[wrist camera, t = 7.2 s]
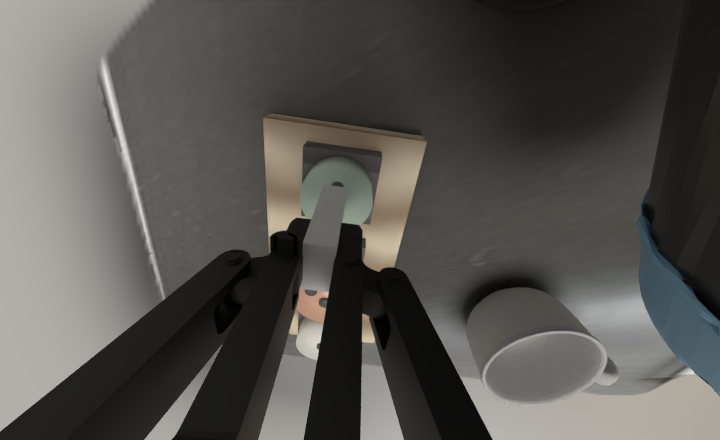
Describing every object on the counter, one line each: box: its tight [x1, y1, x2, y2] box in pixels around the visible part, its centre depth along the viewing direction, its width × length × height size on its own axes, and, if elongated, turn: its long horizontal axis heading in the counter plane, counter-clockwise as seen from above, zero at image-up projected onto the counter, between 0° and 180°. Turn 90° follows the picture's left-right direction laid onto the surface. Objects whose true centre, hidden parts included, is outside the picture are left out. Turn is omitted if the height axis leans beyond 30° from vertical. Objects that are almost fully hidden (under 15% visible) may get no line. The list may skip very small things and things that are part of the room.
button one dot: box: [296, 317, 324, 360], centre depth 27 cm, size 5×5×4 cm
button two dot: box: [299, 157, 373, 226], centre depth 19 cm, size 5×5×4 cm
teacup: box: [467, 287, 619, 406], centre depth 27 cm, size 14×11×8 cm
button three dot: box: [296, 286, 329, 323], centre depth 22 cm, size 5×5×4 cm
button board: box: [263, 114, 427, 343], centre depth 25 cm, size 24×12×4 cm, turn 172°
